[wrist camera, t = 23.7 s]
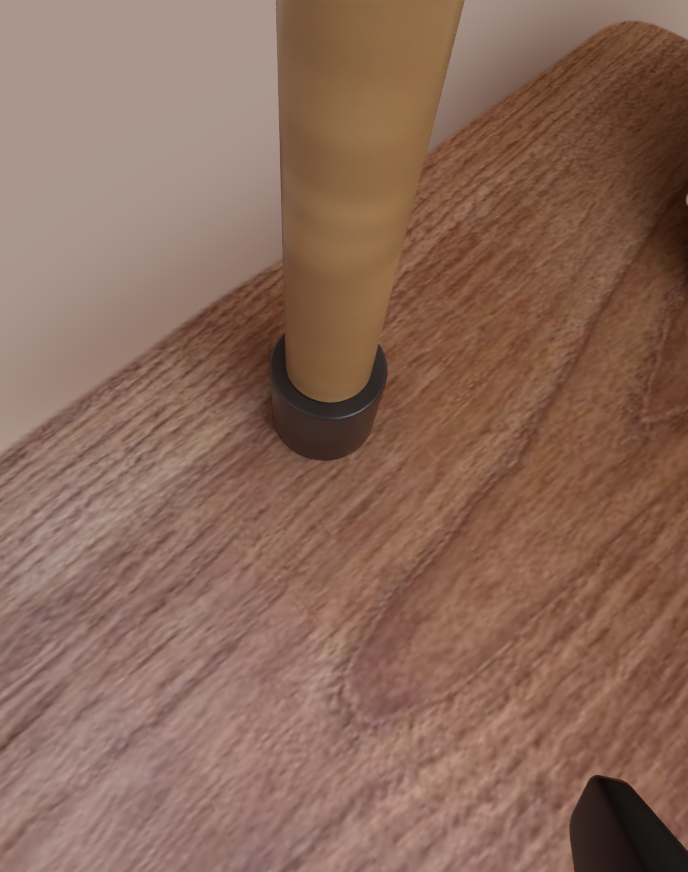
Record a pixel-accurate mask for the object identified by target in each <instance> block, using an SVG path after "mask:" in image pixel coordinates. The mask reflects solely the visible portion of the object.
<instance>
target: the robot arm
mask: <svg viewBox="0 0 688 872" xmlns="http://www.w3.org/2000/svg"><path fill="white" fill-rule="evenodd" d="M570 842H571V849H572V856H573V864H574V871H575V872H688V851H687V850H686V849H685V848H684V846H683V845H682V844H681V843H680V842H679V841H678V840H677V838H676V837H675V836H674V835H673V834H672V833H671V831H670V830H669V829H668V828H667V827H666V826H665V825H664V823H663V822H662V821H661V820H660V819H659V818H658V817H657V815H656V814H655V813H654V812H653V811H652V810H651V809H650V807H649V806H648V805H647V804H646V803H645V802H644V801H643V799H642V798H641V797H640V796H639V795H638V794H637V793H636V791H635V790H634V789H633V788H632V787H631V786H630V785H629V784H628V783H626V782H625V781H623V780H620V779H615V778H610V777H606V776H601V775H595V776H593V777H591V778H590V779H589V781H588V783H587V785H586V787H585V789H584V791H583V793H582V795H581V797H580V799H579V801H578V803H577V805H576V807H575V809H574V811H573V813H572V816H571V820H570Z"/></svg>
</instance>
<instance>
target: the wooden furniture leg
mask: <svg viewBox="0 0 688 872" xmlns="http://www.w3.org/2000/svg"><path fill="white" fill-rule="evenodd" d="M463 4H464V0H276V20H277V21H276V22H277V60H278V94H279V95H278V96H279V132H280V169H281V204H282V205H281V207H282V244H283V281H284V318H285V333H284V334H283V335H282V336H281V337H280V338H279V339H278V341H277V342H276V344H275V346H274V348H273V350H272V353H271V357H270V362H269V372H270V385H271V397H272V410H273V420H274V425H275V428H276V431H277V433H278V434H279V436H280V438H281V439H282V440H283V442H284V443H285V444H286V445H287V446H288V447H289V448H290V449H292V450H293V451H295V452H296V453H298V454H300V455H302V456H304V457H307V458H310V459H315V460H334V459H339V458H342V457H345V456H347V455H349V454H351V453H352V452H354V451H355V450H357V449H358V448H359V447H360V446H361V445H362V444H363V443H364V442H365V441H366V439H367V438H368V436H369V434H370V432H371V429H372V426H373V423H374V419H375V416H376V413H377V409H378V406H379V403H380V400H381V396H382V393H383V390H384V387H385V383H386V380H387V362H386V358H385V354H384V352H383V350H382V348H381V346H380V345H379V340H380V336H381V332H382V328H383V324H384V320H385V316H386V312H387V308H388V304H389V300H390V296H391V292H392V288H393V284H394V280H395V276H396V272H397V268H398V264H399V260H400V256H401V252H402V248H403V244H404V240H405V236H406V232H407V228H408V224H409V220H410V216H411V212H412V208H413V204H414V200H415V196H416V192H417V188H418V184H419V180H420V176H421V172H422V168H423V164H424V160H425V156H426V152H427V148H428V144H429V140H430V136H431V132H432V128H433V124H434V120H435V116H436V112H437V108H438V104H439V100H440V96H441V92H442V88H443V84H444V80H445V76H446V72H447V68H448V64H449V60H450V56H451V52H452V48H453V44H454V40H455V36H456V32H457V28H458V24H459V20H460V16H461V12H462V8H463Z"/></svg>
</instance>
